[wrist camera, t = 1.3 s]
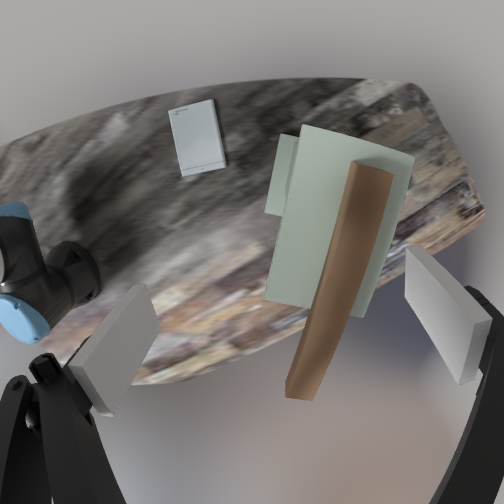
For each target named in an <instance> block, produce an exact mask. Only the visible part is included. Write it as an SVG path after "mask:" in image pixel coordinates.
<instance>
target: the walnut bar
mask: <svg viewBox="0 0 504 504" xmlns="http://www.w3.org/2000/svg"><path fill="white" fill-rule="evenodd" d="M393 177H394V174H391V173H389V172H386V171H384V170H380V169H377V168H374V167H370V166H367V165H363V164H359V163H356V162H352V161H351V163H350V168H349V172H348V176H347V180H346V184H345V189H344V193H343V197H342V201H341V204H340V208H339V212H338V216H337V220H336V224H335V227H334V231H333V235H332V238H331V242H330V245H329V249H328V253H327V256H326V260H325V263H324V266H323V270H322V273H321V276H320V280H319V283H318V286H317V290H316V293H315V296H314V299H313V302H312V306H311V309H310V312H309V315H308V318H307V321H306V324H305V327H304V330H303V333H302V336H301V339H300V342H299V345H298V348H297V351H296V354H295V356H294V359H293V362H292V365H291V368H290V371H289V373H288V376H287V379H286V387H285V388H286V390H285V392H286V393H285V396H286V398H293V399H301V400H309V401H312V400H313V398H314V396H315V394H316V392H317V390H318V388H319V386H320V384H321V381H322V379H323V377H324V375H325V373H326V370H327V368H328V366H329V364H330V361H331V359H332V357H333V354H334V352H335V350H336V347H337V345H338V343H339V340H340V337H341V335H342V333H343V330H344V328H345V325H346V323H347V320H348V318H349V315H350V313H351V310H352V307H353V305H354V302H355V299H356V297H357V294H358V291H359V288H360V286H361V283H362V280H363V277H364V274H365V271H366V268H367V265H368V262H369V259H370V256H371V253H372V250H373V247H374V244H375V241H376V238H377V234H378V231H379V228H380V224H381V221H382V218H383V214H384V211H385V207H386V204H387V200H388V196H389V192H390V189H391V185H392V181H393Z"/></svg>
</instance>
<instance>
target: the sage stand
mask: <svg viewBox="0 0 504 504" xmlns="http://www.w3.org/2000/svg"><path fill="white" fill-rule="evenodd" d="M351 161H352V162H356V163H359V164H363V165H367V166H370V167H374V168H377V169H380V170H384V171H386V172H389V173H391V174H394V177H393V181H392V185H391V189H390V192H389V196H388V200H387V204H386V207H385V211H384V214H383V218H382V221H381V224H380V228H379V231H378V234H377V238H376V241H375V244H374V247H373V250H372V253H371V256H370V259H369V262H368V265H367V268H366V271H365V274H364V277H363V280H362V283H361V286H360V288H359V291H358V294H357V297H356V299H355V302H354V305H353V307H352V310H351V313H350V315H349V316H355V317H362V318H363V317H364V315H365V312H366V310H367V307H368V305H369V302H370V300H371V297H372V295H373V292H374V290H375V287H376V284H377V282H378V279H379V276H380V274H381V271H382V268H383V265H384V262H385V260H386V257H387V254H388V251H389V248H390V245H391V242H392V239H393V236H394V233H395V230H396V226H397V223H398V220H399V217H400V213H401V210H402V206H403V203H404V199H405V196H406V192H407V189H408V185H409V181H410V177H411V173H412V169H413V165H414V161H415V157H414V156H411V155H408V154H406V153H403V152H400V151H397V150H394V149H391V148H388V147H385V146H381V145H378V144H375V143H372V142H369V141H365V140H362V139H358V138H355V137H351V136H348V135H344V134H340V133H337V132H333V131H329V130H325V129H321V128H317V127H313V126H309V125H304V124H303V125H302V127H301V132H300V136H299V137H295V136H290V135H285V134H280V139H279V143H278V148H277V153H276V158H275V163H274V168H273V173H272V178H271V182H270V187H269V192H268V197H267V202H266V207H265V212H264V213H268V214H273V215H278V216H282V219H281V224H280V228H279V233H278V237H277V241H276V246H275V250H274V254H273V259H272V263H271V267H270V272H269V276H268V280H267V284H266V289H265V297H264V300H268V301H273V302H278V303H283V304H288V305H293V306H299V307H304V308H309V309H311V306H312V302H313V299H314V296H315V293H316V290H317V286H318V283H319V280H320V276H321V273H322V270H323V266H324V263H325V260H326V256H327V253H328V249H329V245H330V242H331V238H332V235H333V231H334V227H335V224H336V220H337V216H338V212H339V208H340V204H341V201H342V197H343V193H344V189H345V184H346V180H347V176H348V172H349V168H350V163H351Z"/></svg>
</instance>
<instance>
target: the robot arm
mask: <svg viewBox="0 0 504 504" xmlns="http://www.w3.org/2000/svg"><path fill="white" fill-rule="evenodd" d="M99 288H100V275H99V271H98V268H97V266H96V264H95V262H94V260H93V258H92V257H91V256H90V255H89V253H88V252H87V251H86V250H85V249H83V248H82V247H80V246H79V245H77V244H74V243H70V242H64V243H61V244H59V245H57V246H56V247H54V248H53V249H52V250H51V251H50V252H49V254H48V255H47V257H46V259H45V260H44V259H43V256H42V253H41V250H40V247H39V243H38V240H37V236H36V233H35V229H34V226H33V221H32V219H31V217H30V214H29V211H28V208H27V206H26V205H25V204H24V203H23V202H13V203H8V204H4V205H0V322H1V323H2V325H3V326H4V327H5V329H7V331H8V332H9V333H10V334H11V335H13V336H14V337H15V338H16V339H18V340H20V341H22V342H24V343H27V344H36V343H38V342H39V341H41V340H42V339H43V338H44V337H45V336H47V335H48V334H49V333H50V331H51V330H52V329H53V328H54V327H55V326H56V325H57V324H58V323H59V322H60V321H61V320H62V319H63V318H64V317H65V316H66V314H67V313H68V312H69V311H70V310H71V309H74V308H77V307H79V306H82V305H85V304H87V303H89V302H90V301H91V300H92V299H93V298H94V297H95V296H96V295H97V293H98V291H99ZM405 298H406V300H407V301H408V303H409V304H410V306H411V307H412V309H413V310H414V312H415V314H416V315H417V317H418V318H419V320H420V321H421V323H422V325H423V326H424V328H425V329H426V331H427V333H428V334H429V336H430V338H431V339H432V341H433V342H434V344H435V346H436V348H437V349H438V351H439V353H440V354H441V356H442V358H443V359H444V361H445V363H446V365H447V367H448V368H449V370H450V372H451V374H452V375H453V377H454V379H455V381H456V383H457V384H458V385H461V384H464V383H467V382H470V381H473V380H475V377H476V374H477V371H478V368H479V369H480V370H481V372H482V373H483V377H482V380H481V382H480V385H479V388H478V390H477V393H476V395H477V396H476V399H475V402H474V405H473V408H472V411H471V413H470V416H469V419H468V422H467V424H466V427H465V430H464V432H463V435H462V437H461V440H460V442H459V445H458V447H457V449H456V451H455V454H454V456H453V458H452V460H451V462H450V465H449V467H448V469H447V471H446V473H445V475H444V477H443V479H442V481H441V483H440V484H439V486H438V488H437V490H436V492H435V494H434V496H433V498H432V499H431V501H430V503H429V504H493V503H494V501H495V499H496V496H497V493H498V491H499V488H500V485H501V483H502V480H503V476H504V316H503V315H502V314H501V313H500V312H499V311H498V310H497V309H496V308H495V307H494V306H493V305H492V304H491V303H490V302H489V301H488V300H487V298H485V297H484V296H483V294H482V293H480V291H478V290H477V289H474V288H472V287H471V286H465V287H463V286H462V285H461V284H459V282H458V281H457V280H456V279H455V278H454V277H453V276H452V275H451V274H450V273H449V272H447V270H446V269H445V268H443V267H442V266H441V265H440V264H439V263H438V262H437V261H436V260H435V259H434V258H433V257H432V256H431V255H430V254H429V253H428V252H427V251H426V250H424V249H423V248H422V247H421V246H420V245H417V246H410V247H406V278H405ZM160 329H161V326H160V323H159V320H158V318H157V315H156V312H155V310H154V307H153V304H152V301H151V299H150V296H149V293H148V290H147V287H146V284H140V285H133V286H132V287H131V288H130V289H129V291H128V292H127V293H126V294H125V295H124V296H123V298H122V299H121V300H120V301H119V302H118V303H117V305H116V306H115V307H114V308H113V309H112V311H111V312H110V313H109V314H108V315H107V317H106V318H105V319H104V320H103V321H102V323H101V324H100V325H99V326H98V328H97V329H96V330H95V331H94V332H93V334H92V335H90V336H89V337H88V338H86V339H85V340H84V341H83V343H82V344H81V345H80V346H79V347H80V348H78V349H77V350H76V351H75V353H74V354H73V355H72V356H71V358H70V359H69V360H68V362H67V363H66V364H65V365H64V367H63V368H61V366H60V365H59V363H58V361H57V359H56V358H55V356H54V354H52V353H45V354H42V355H40V356H38V357H36V358H35V359H34V360H33V361H32V362H31V363H30V365H29V369H30V371H31V372H32V374H33V376H34V377H35V379H36V380H37V382H38V383H34V384H31V383H30V382H29V380H28V379H27V377H26V376H24V375H19V376H16V377H14V378H12V379H11V380H10V381H9V382H8V384H7V385H6V388H5V390H4V392H3V395H2V398H1V401H0V504H52V502H51V501H52V497H53V502H54V504H126V502H125V500H124V497H123V495H122V493H121V490H120V488H119V486H118V484H117V481H116V479H115V476H114V474H113V472H112V469H111V466H110V464H109V462H108V459H107V456H106V453H105V451H104V448H103V445H102V442H101V439H100V436H99V433H98V430H97V428H96V424H95V421H94V418H93V416H92V414H91V413H90V411H89V410H90V409H91V407H92V405H93V406H94V407H95V409H96V410H97V412H98V413H99V415H106V416H114V415H115V413H116V411H117V409H118V407H119V405H120V403H121V401H122V400H123V397H124V396H125V394H126V392H127V390H128V388H129V386H130V384H131V382H132V381H133V379H134V377H135V375H136V373H137V371H138V369H139V367H140V366H141V364H142V362H143V360H144V358H145V356H146V355H147V353H148V351H149V349H150V347H151V345H152V344H153V342H154V340H155V338H156V336H157V335H158V333H159V331H160ZM26 420H27V421H28V422H29V423H30V427H29V428H28V427H27V425H26Z"/></svg>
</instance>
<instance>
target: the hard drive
mask: <svg viewBox="0 0 504 504" xmlns="http://www.w3.org/2000/svg"><path fill="white" fill-rule="evenodd" d="M168 112H169V117H170V122H171V127H172V132H173V137H174V142H175V147H176V151H177V156H178V160H179V165H180V169H181V173H182V177H183V176H187V175H192V174H196V173H201V172H206V171H211V170H215V169H220V168H225V167H227V165H226V160H225V155H224V150H223V145H222V140H221V135H220V130H219V125H218V121H217V116H216V111H215V106H214V101H213V99H210V100H206V101H202V102H198V103H194V104H190V105H186V106H183V107H179V108H176V109H172V110H169V111H168Z"/></svg>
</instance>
